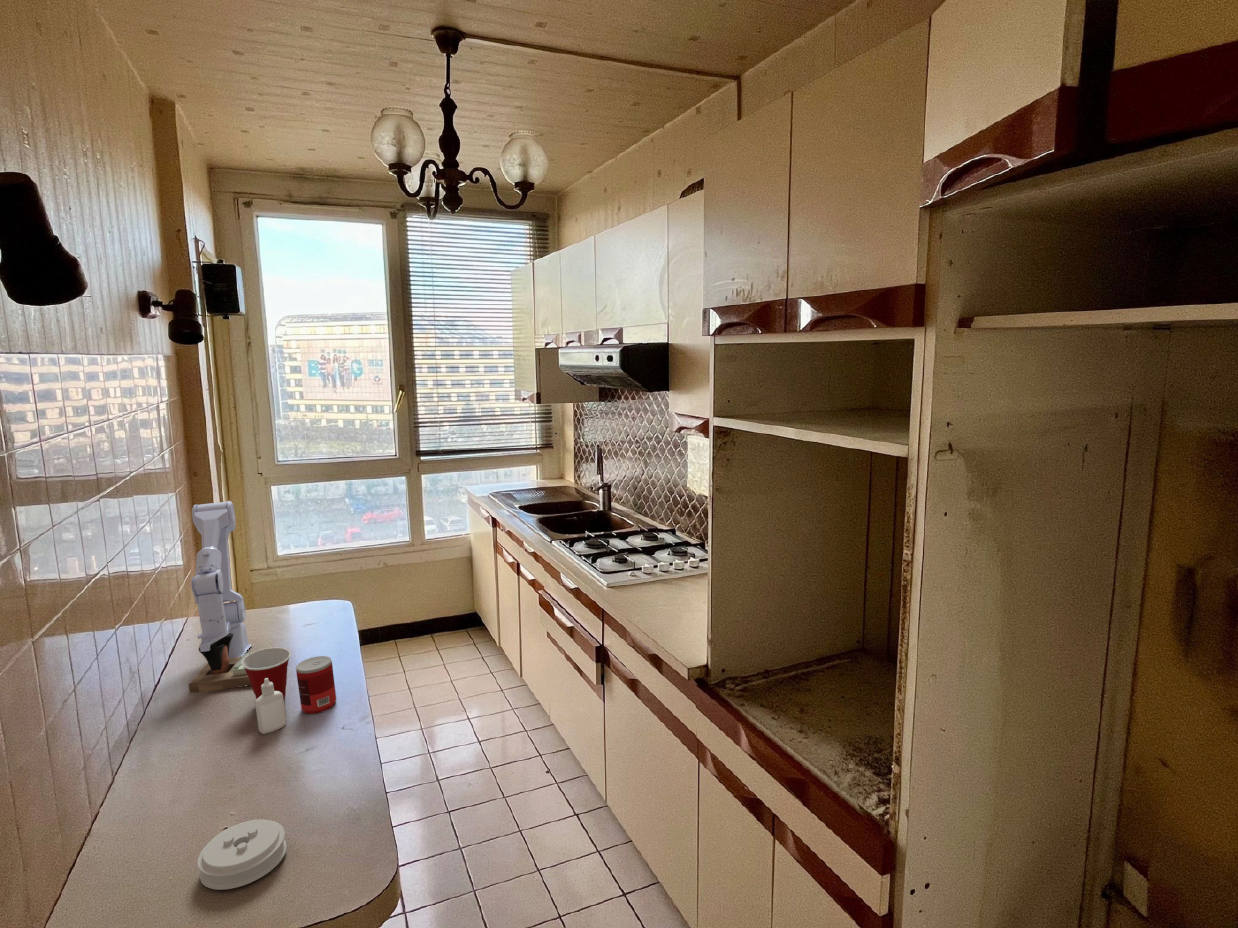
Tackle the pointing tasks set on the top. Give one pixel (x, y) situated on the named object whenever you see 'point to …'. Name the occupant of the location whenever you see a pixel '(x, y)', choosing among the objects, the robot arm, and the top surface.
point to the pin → (224, 662)
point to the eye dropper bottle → (270, 709)
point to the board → (218, 679)
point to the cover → (239, 667)
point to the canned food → (316, 684)
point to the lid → (242, 854)
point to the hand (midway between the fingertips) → (220, 665)
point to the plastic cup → (267, 668)
